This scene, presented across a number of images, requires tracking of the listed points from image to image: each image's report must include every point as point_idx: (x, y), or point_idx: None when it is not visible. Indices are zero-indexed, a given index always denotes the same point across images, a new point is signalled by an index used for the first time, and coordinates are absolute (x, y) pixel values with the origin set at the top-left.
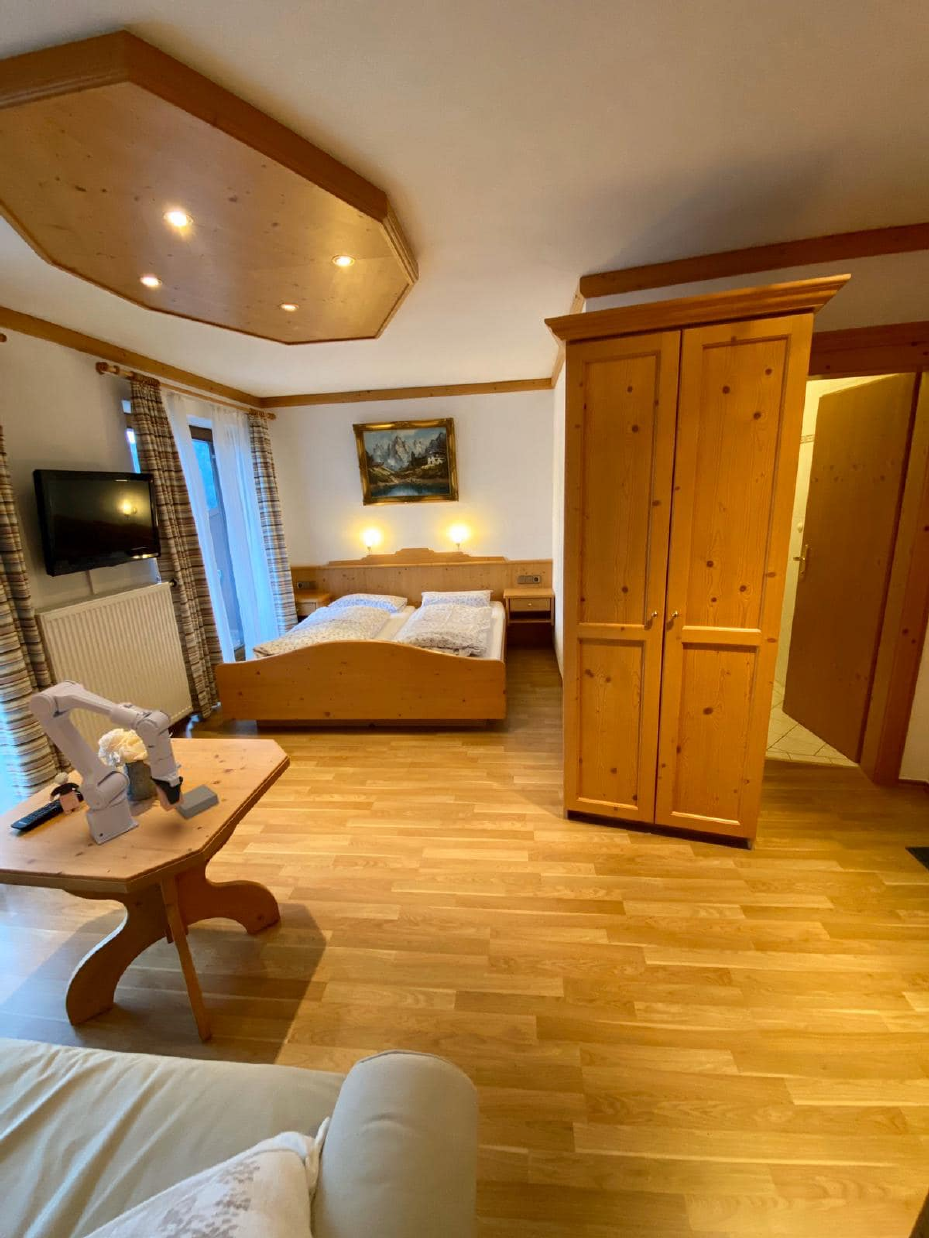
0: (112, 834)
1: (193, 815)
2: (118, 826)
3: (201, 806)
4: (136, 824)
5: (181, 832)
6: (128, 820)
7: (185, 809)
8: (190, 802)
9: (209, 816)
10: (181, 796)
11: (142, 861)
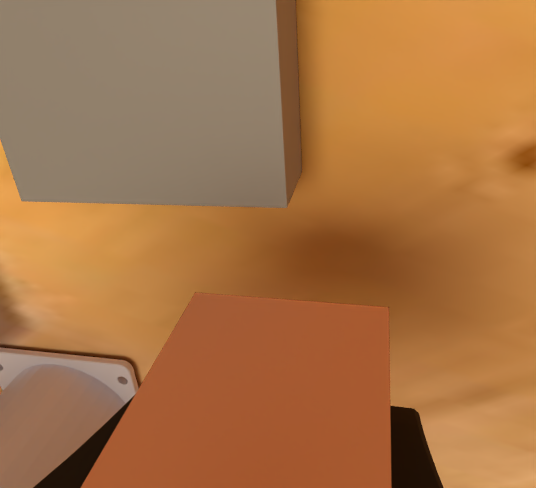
0: None
1: (299, 122)
2: None
3: (287, 46)
4: (124, 372)
5: (439, 261)
6: (95, 419)
7: (281, 202)
8: (193, 125)
9: (444, 26)
10: (387, 397)
11: (497, 466)
